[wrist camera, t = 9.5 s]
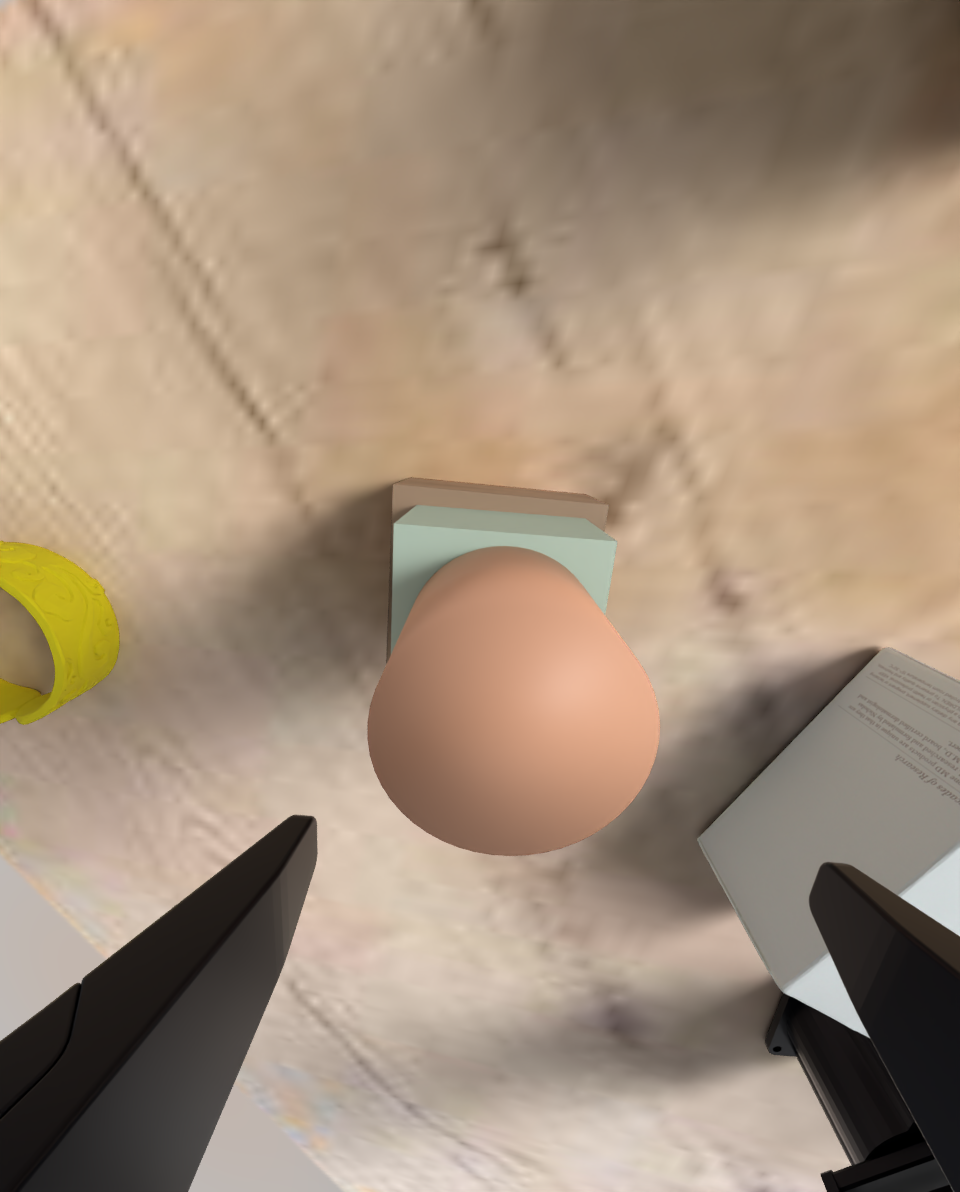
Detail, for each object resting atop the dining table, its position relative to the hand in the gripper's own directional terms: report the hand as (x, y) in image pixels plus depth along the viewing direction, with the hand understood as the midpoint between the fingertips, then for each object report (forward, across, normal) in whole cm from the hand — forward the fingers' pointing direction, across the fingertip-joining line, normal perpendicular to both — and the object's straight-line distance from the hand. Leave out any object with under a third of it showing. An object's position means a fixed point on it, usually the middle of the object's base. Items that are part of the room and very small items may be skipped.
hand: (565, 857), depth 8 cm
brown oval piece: (+5, +1, -2) cm, 5 cm away
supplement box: (+9, -19, +1) cm, 21 cm away
